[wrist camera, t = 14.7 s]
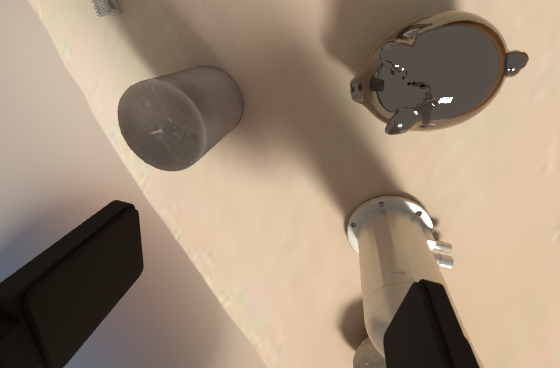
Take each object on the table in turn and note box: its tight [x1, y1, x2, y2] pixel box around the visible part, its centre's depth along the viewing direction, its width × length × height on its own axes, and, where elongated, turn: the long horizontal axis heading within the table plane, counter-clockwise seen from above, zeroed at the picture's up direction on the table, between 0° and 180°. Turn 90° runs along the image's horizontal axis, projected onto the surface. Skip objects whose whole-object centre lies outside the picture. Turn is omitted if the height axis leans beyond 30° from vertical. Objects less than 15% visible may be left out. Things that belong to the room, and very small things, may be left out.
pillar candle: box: [118, 67, 243, 171], centre depth 34 cm, size 10×10×15 cm
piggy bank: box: [350, 11, 529, 135], centre depth 30 cm, size 11×15×12 cm
